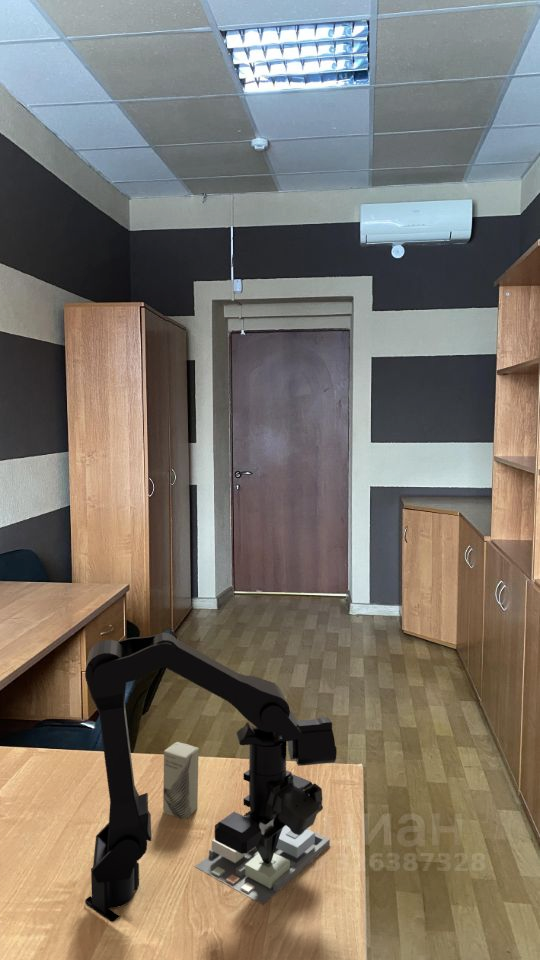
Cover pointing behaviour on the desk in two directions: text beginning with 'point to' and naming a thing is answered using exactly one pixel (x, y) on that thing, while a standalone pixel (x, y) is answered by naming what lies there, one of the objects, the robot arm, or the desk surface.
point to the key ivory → (226, 851)
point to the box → (180, 780)
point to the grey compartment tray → (238, 880)
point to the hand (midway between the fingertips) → (267, 861)
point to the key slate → (295, 841)
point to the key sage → (267, 869)
